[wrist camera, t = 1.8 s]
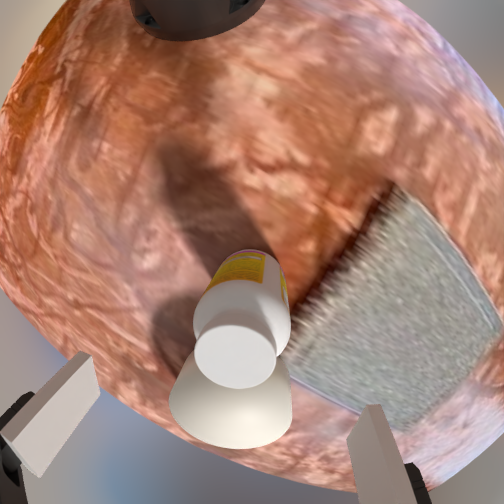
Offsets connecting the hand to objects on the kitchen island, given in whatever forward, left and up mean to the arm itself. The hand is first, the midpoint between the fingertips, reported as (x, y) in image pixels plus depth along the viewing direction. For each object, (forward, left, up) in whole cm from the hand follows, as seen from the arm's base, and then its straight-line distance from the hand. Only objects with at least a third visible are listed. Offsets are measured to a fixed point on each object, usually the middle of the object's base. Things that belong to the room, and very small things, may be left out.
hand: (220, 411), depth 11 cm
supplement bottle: (0, 0, -17) cm, 17 cm away
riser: (+13, -3, -17) cm, 21 cm away
